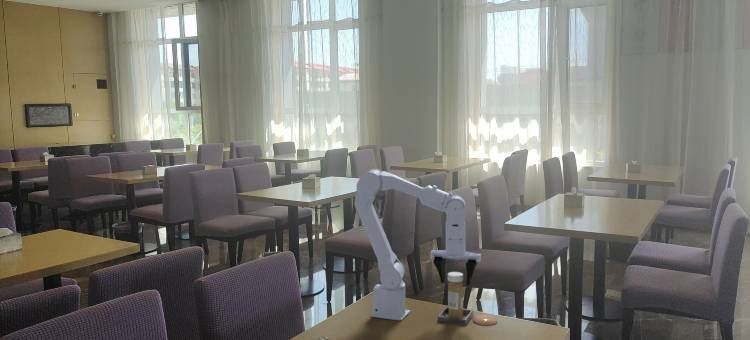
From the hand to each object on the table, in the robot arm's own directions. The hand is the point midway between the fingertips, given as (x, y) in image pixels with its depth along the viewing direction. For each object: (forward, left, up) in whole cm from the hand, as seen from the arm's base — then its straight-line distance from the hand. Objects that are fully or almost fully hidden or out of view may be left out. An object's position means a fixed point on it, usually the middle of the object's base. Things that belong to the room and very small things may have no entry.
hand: (455, 283), depth 168 cm
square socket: (0, 0, -10) cm, 10 cm away
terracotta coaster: (+9, +1, -10) cm, 13 cm away
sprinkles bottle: (0, 0, -11) cm, 11 cm away
